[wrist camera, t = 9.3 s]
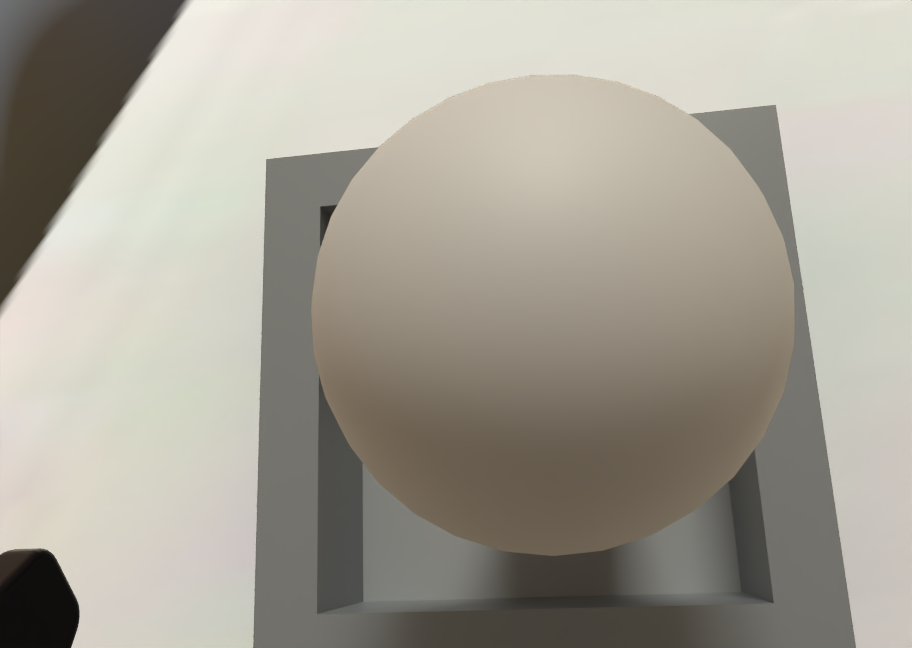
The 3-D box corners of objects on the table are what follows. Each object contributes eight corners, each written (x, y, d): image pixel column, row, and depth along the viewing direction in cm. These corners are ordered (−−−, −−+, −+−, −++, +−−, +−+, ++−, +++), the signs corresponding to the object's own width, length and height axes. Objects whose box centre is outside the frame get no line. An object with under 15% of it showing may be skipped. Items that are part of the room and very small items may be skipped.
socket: (801, 648, 17) (860, 679, 14) (321, 656, 19) (252, 685, 15) (740, 187, 20) (775, 104, 16) (324, 226, 22) (266, 159, 18)
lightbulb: (725, 298, 19) (886, -25, 8) (692, 577, 17) (834, 626, 7) (460, 264, 20) (304, -53, 9) (409, 522, 18) (159, 490, 8)
